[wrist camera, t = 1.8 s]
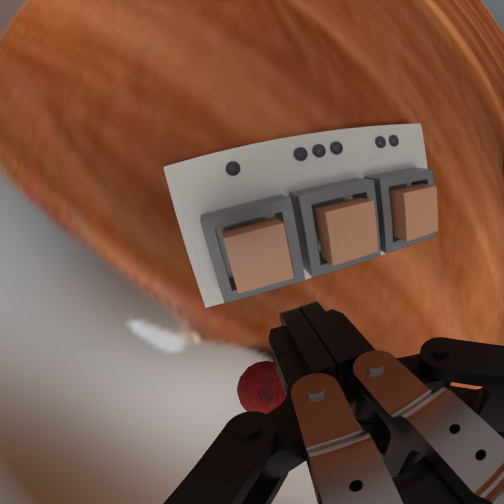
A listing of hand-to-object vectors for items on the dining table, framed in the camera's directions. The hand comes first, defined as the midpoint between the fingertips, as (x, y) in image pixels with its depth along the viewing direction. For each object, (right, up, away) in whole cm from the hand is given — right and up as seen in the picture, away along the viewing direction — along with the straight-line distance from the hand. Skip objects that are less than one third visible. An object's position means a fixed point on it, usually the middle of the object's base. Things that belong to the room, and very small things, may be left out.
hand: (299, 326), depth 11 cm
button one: (-2, +3, +10) cm, 10 cm away
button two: (+12, +7, +11) cm, 17 cm away
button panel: (+4, +7, +14) cm, 16 cm away
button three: (+5, +5, +10) cm, 12 cm away
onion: (-1, -9, +18) cm, 21 cm away
